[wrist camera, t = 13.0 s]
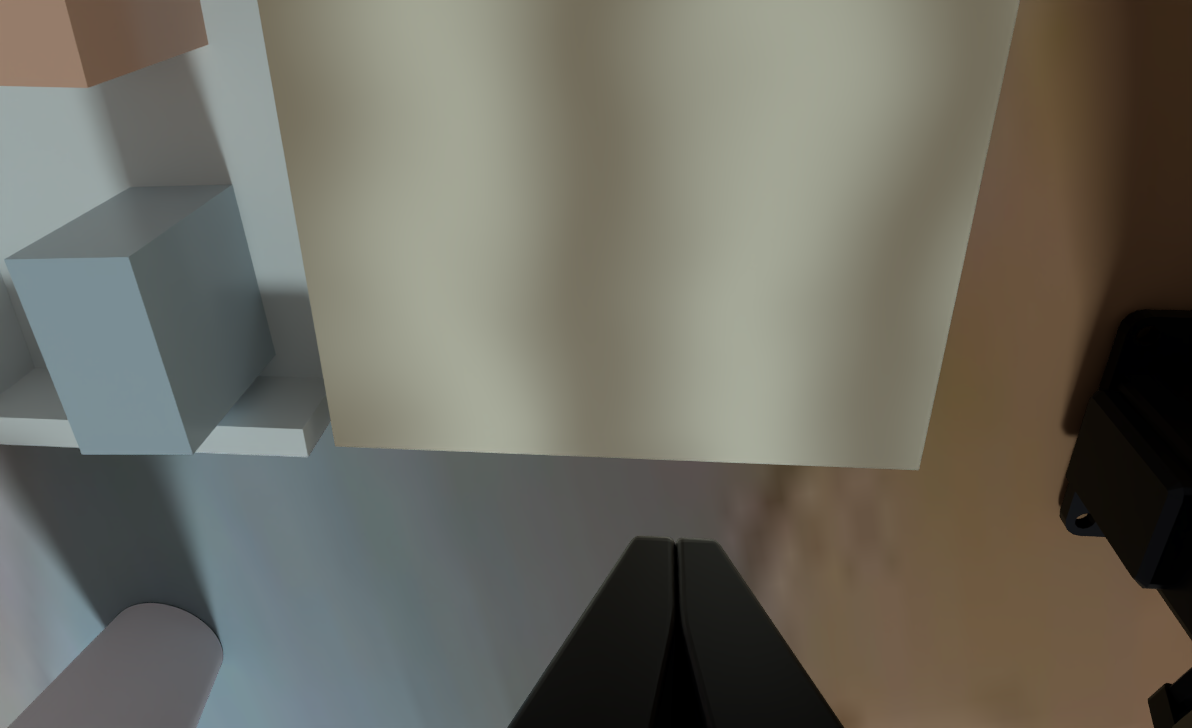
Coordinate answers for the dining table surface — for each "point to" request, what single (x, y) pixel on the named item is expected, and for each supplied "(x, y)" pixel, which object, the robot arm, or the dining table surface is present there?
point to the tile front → (92, 39)
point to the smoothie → (134, 675)
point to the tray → (164, 158)
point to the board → (636, 219)
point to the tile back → (147, 317)
